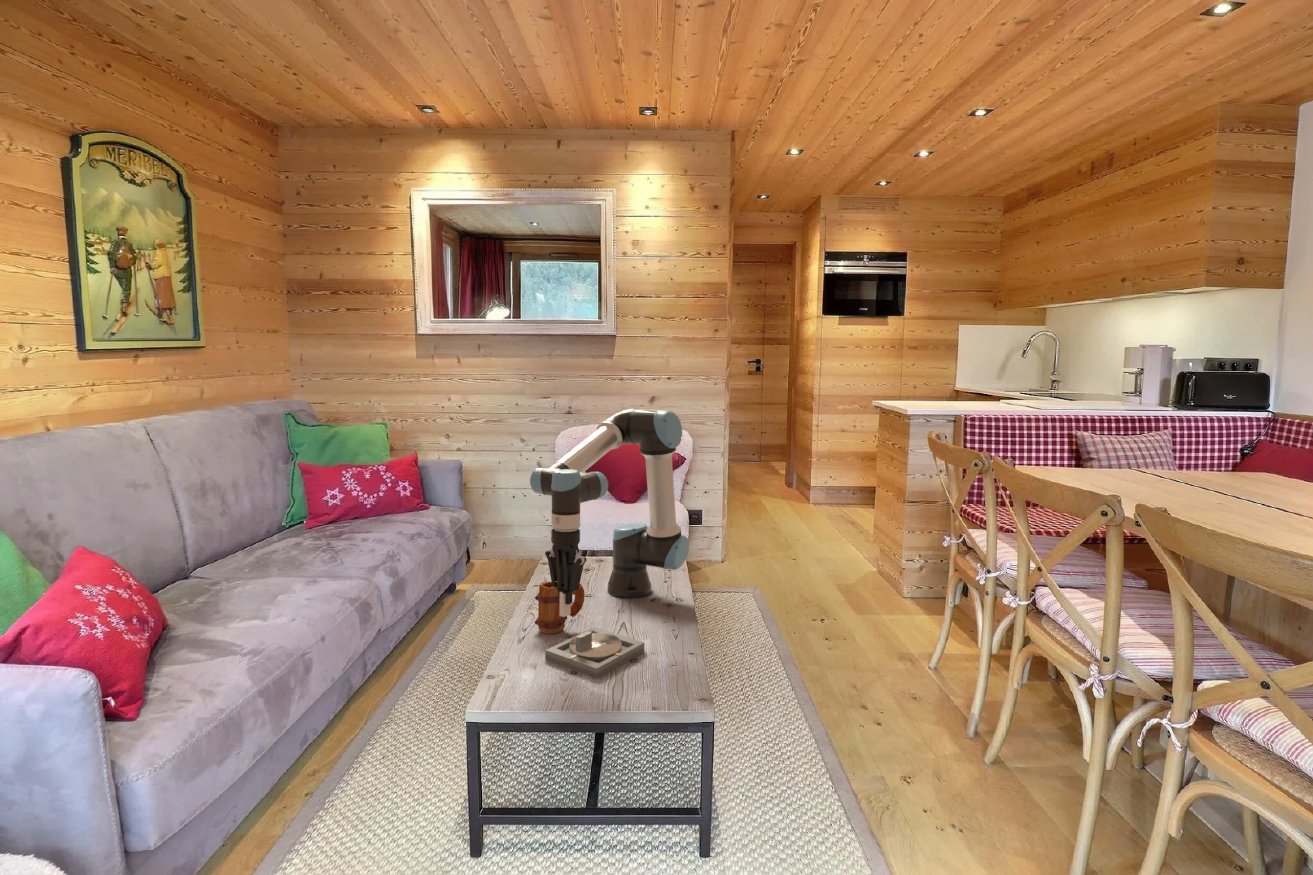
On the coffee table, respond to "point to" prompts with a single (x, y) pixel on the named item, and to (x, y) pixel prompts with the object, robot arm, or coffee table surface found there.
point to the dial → (595, 646)
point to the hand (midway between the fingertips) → (565, 614)
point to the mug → (554, 608)
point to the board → (593, 669)
